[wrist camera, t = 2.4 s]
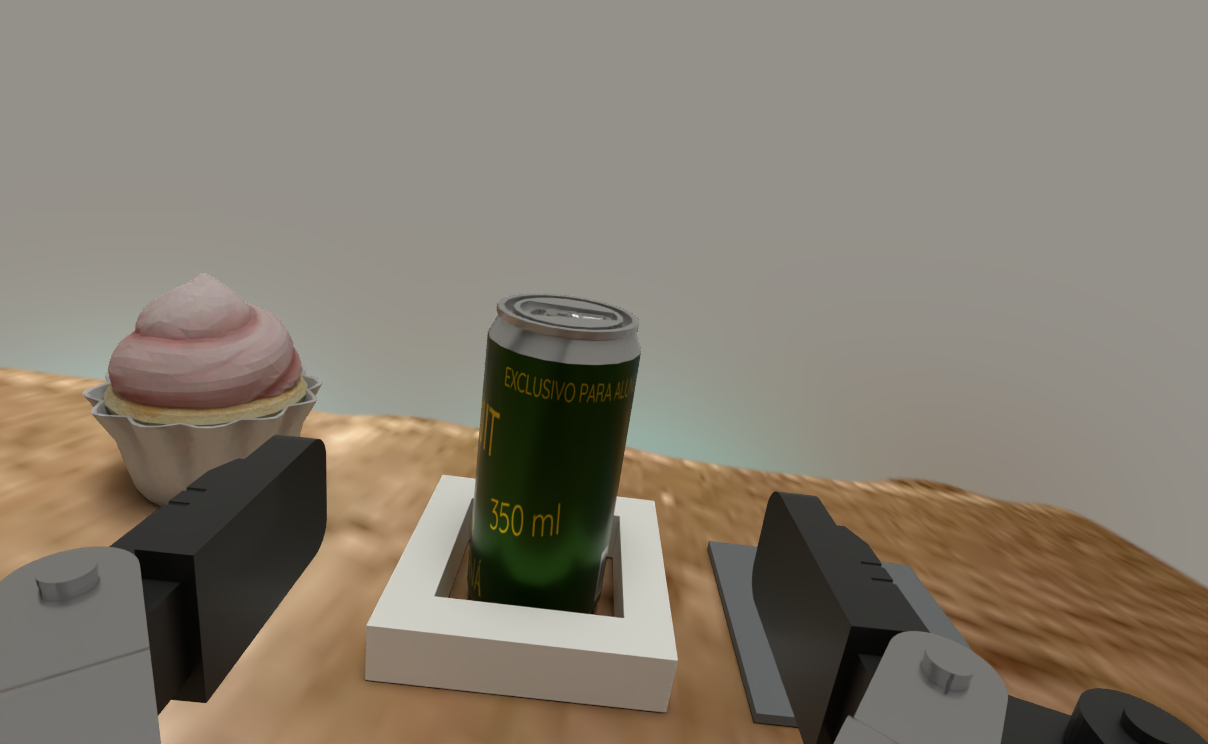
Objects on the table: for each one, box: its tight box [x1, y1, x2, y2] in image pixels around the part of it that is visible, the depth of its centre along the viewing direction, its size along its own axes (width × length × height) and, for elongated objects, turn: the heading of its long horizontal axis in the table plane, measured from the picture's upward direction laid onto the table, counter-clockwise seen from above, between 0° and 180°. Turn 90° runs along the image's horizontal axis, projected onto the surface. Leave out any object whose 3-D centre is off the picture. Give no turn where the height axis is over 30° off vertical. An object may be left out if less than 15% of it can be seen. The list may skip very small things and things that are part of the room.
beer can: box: [467, 294, 641, 614], centre depth 24 cm, size 5×5×12 cm
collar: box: [365, 475, 678, 713], centre depth 25 cm, size 10×10×2 cm
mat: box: [708, 541, 973, 727], centre depth 26 cm, size 10×10×1 cm
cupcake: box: [82, 273, 322, 506], centre depth 29 cm, size 9×9×10 cm
